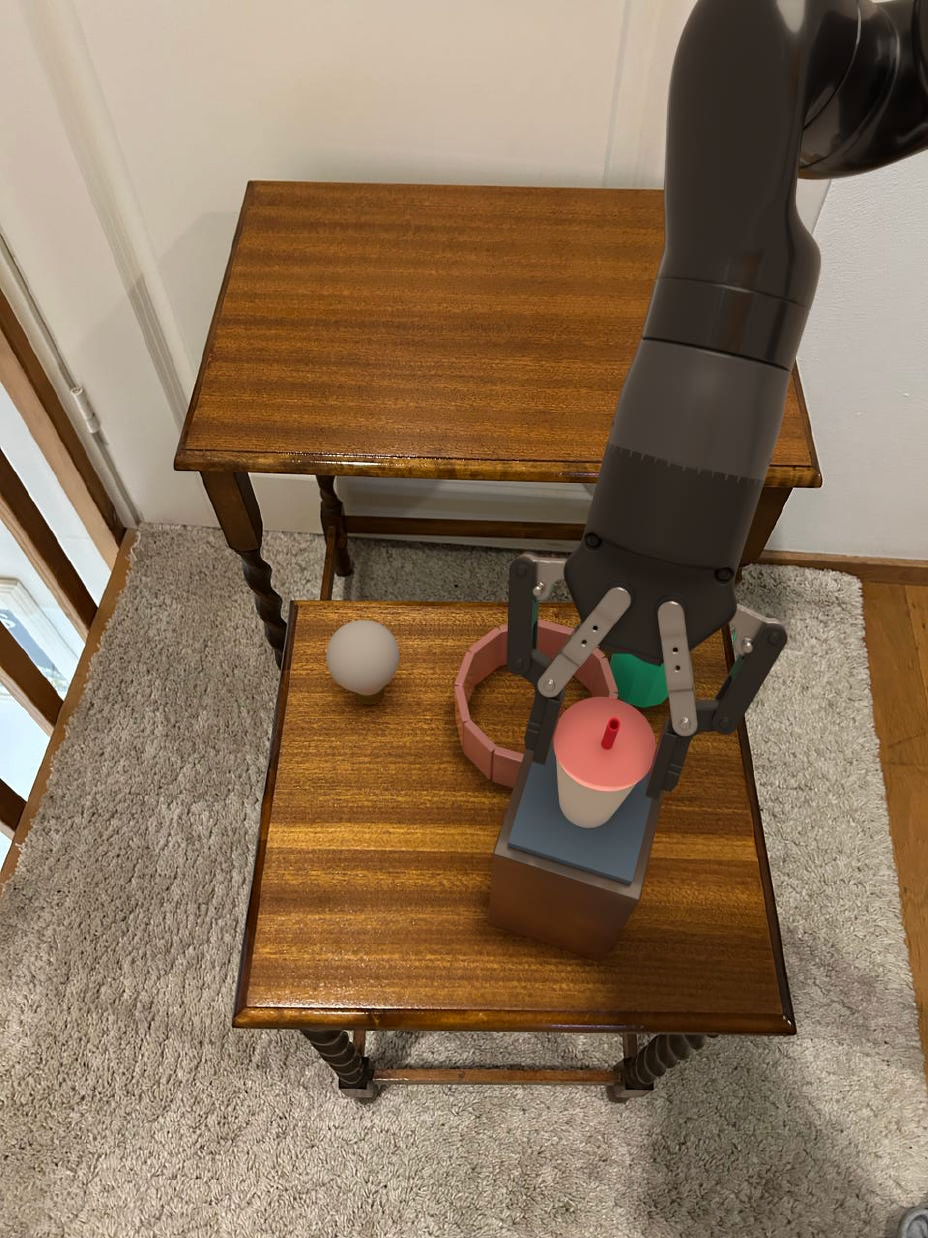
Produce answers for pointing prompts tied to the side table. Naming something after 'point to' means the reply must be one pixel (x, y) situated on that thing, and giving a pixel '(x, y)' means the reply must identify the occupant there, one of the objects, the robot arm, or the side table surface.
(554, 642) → the pink segmented ring
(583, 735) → the cup
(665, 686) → the candle
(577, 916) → the stand
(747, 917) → the side table surface
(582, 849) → the coaster
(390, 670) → the light bulb
